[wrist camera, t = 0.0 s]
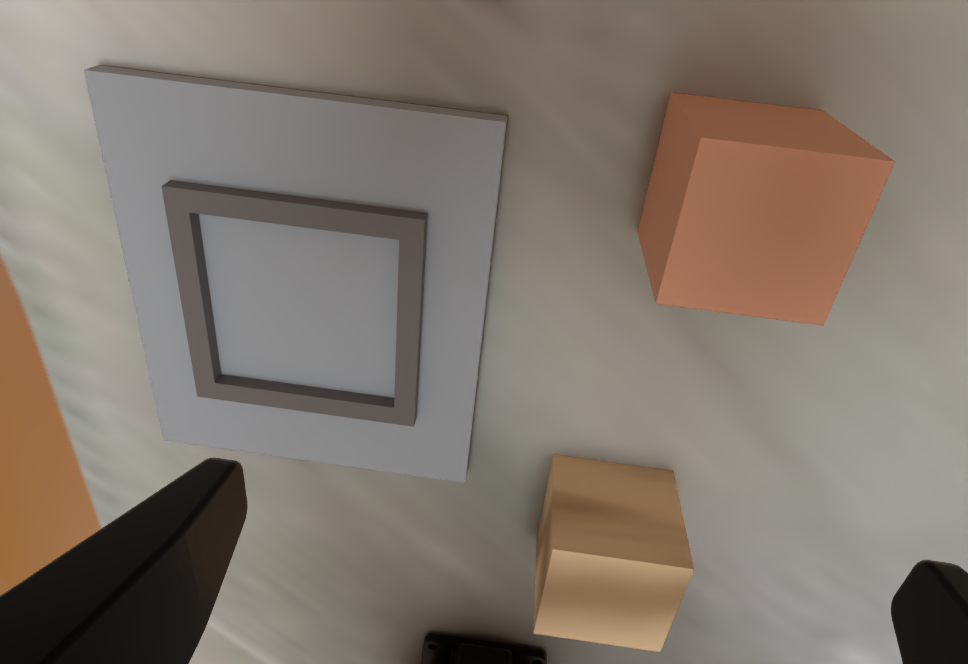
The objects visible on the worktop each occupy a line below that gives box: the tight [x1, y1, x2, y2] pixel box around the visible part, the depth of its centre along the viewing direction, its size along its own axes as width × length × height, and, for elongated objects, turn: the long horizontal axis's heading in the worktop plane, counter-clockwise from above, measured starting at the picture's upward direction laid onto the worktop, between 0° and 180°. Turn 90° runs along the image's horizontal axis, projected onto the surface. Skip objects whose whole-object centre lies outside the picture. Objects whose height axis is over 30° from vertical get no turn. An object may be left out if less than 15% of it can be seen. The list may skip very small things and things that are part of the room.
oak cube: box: [534, 454, 694, 652], centre depth 27 cm, size 5×5×5 cm
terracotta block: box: [638, 92, 895, 326], centre depth 19 cm, size 4×4×5 cm
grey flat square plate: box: [84, 65, 508, 483], centre depth 24 cm, size 15×13×1 cm
